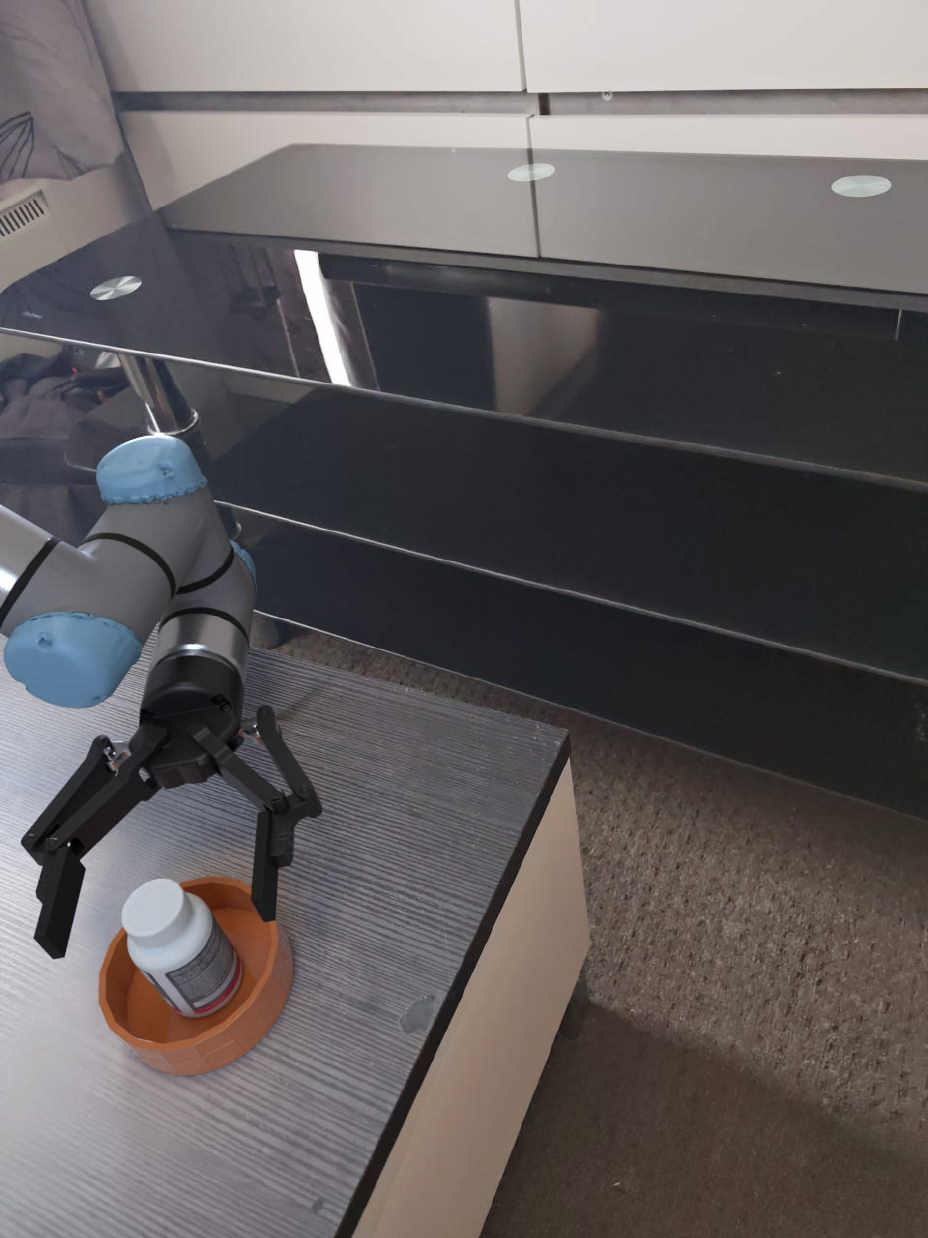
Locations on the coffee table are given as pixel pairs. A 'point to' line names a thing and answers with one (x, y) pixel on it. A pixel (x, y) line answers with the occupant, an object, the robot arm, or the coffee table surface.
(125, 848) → the coffee table surface
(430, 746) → the coffee table surface
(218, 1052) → the orange round bowl
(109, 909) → the coffee table surface
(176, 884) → the pill bottle
